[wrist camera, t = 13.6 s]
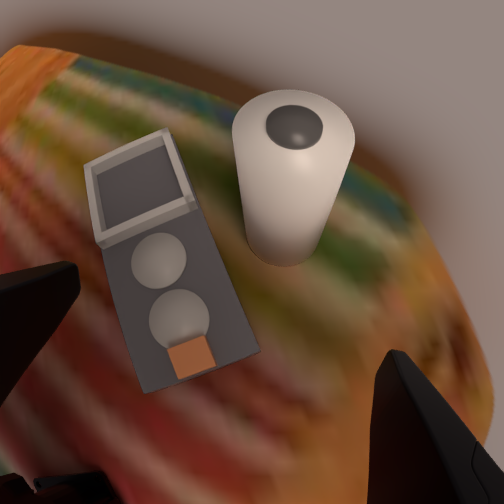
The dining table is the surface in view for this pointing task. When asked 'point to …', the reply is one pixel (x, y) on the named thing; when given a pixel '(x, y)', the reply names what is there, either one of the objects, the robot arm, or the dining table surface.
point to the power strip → (163, 265)
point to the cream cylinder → (289, 170)
